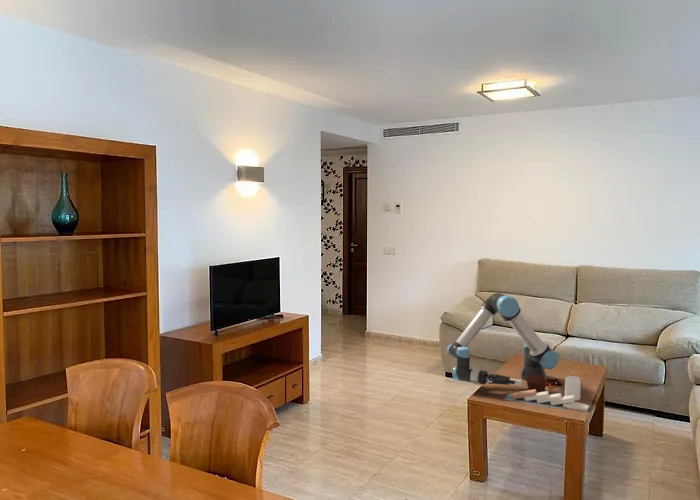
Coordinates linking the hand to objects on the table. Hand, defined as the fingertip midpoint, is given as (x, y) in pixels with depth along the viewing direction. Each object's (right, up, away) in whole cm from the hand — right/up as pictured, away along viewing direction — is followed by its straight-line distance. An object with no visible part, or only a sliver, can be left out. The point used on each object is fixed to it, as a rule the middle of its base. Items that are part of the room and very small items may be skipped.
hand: (521, 382), depth 304 cm
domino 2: (+2, -8, -1) cm, 8 cm away
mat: (+7, -10, -3) cm, 12 cm away
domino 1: (-3, -8, +3) cm, 9 cm away
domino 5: (+19, -8, -11) cm, 24 cm away
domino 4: (+14, -8, -8) cm, 18 cm away
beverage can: (+29, -9, +1) cm, 30 cm away
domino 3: (+8, -8, -4) cm, 12 cm away
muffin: (+13, -9, +14) cm, 21 cm away
